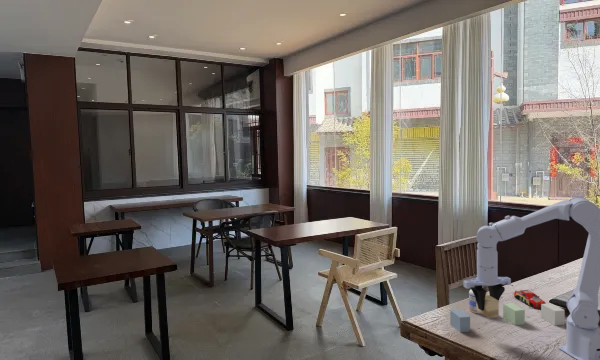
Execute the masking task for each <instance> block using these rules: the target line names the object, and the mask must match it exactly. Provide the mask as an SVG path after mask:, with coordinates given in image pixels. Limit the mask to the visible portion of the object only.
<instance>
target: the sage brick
mask: <svg viewBox="0 0 600 360" xmlns="http://www.w3.org/2000/svg"><path fill="white" fill-rule="evenodd" d="M502 304H503V305H502V306H503V307H502V310H503V313H502V319H504V320H506V321H508V322H509V323H511V324H512V325H514V326H520V325H525V324H526V323H525V322H526V321H525V317H526V315H525V312H526V310H525V309H524V308H522V307H520V306H519V305H517V304H515V303H513V302H509V303H502Z"/></svg>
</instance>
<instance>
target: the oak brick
mask: <svg viewBox="0 0 600 360" xmlns="http://www.w3.org/2000/svg"><path fill="white" fill-rule="evenodd" d="M499 302H500V300H499V301H498V300H497V299H495V298H493V297H491V296H490V294H488V293H486V296H485V307H484V311H482V310H480V309H479V308H478V305H477V301H476V310H477V311H478V312H480V313H481V315H483V316H484V317H486V318H487V319H490V318H499V317H500V316H499V312H500V311H499V305H500V303H499Z"/></svg>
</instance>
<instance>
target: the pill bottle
mask: <svg viewBox="0 0 600 360" xmlns="http://www.w3.org/2000/svg"><path fill="white" fill-rule="evenodd" d="M482 288H484V286H482ZM468 301H469V302H468V305H469V307H468V309H469V311H470V312H471V313H474V314H479V315H480V314H481V313H480V312H478V311H477V310H476V298H475V296H474V293H473V291H472V290H471V289H470V290H469V291H468ZM481 315H482V314H481Z"/></svg>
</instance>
